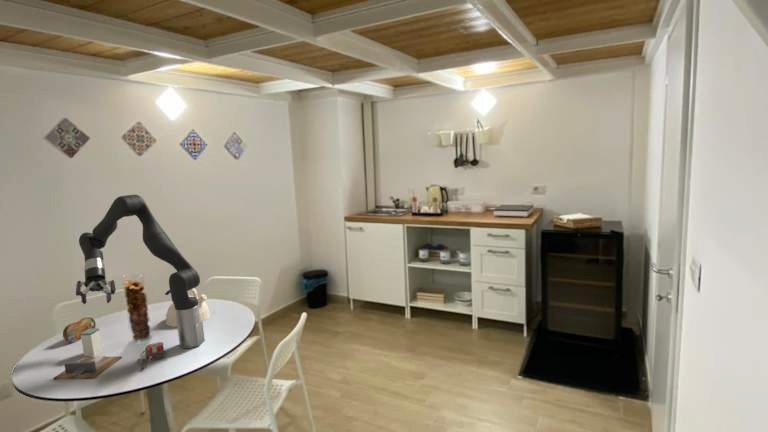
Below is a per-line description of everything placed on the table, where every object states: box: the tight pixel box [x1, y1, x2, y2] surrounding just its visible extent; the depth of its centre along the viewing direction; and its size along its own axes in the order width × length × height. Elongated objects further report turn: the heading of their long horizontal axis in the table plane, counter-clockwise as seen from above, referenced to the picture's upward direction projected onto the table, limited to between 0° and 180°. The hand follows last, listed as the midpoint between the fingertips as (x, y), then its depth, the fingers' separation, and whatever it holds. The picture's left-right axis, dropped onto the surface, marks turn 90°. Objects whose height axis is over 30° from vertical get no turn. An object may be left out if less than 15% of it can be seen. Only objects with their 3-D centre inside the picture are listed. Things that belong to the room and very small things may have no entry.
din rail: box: [71, 355, 107, 376], centre depth 168 cm, size 4×14×1 cm, turn 177°
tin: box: [62, 316, 97, 343], centre depth 197 cm, size 15×3×8 cm, turn 168°
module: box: [80, 327, 103, 357], centre depth 180 cm, size 4×5×10 cm
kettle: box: [164, 288, 211, 328], centre depth 213 cm, size 20×21×18 cm
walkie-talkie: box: [139, 341, 166, 370], centre depth 174 cm, size 9×4×20 cm
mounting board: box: [53, 355, 123, 380], centre depth 168 cm, size 16×16×1 cm
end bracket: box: [64, 361, 96, 374], centre depth 163 cm, size 11×2×4 cm, turn 88°
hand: (96, 302), depth 182 cm, fingers open, 8 cm apart
